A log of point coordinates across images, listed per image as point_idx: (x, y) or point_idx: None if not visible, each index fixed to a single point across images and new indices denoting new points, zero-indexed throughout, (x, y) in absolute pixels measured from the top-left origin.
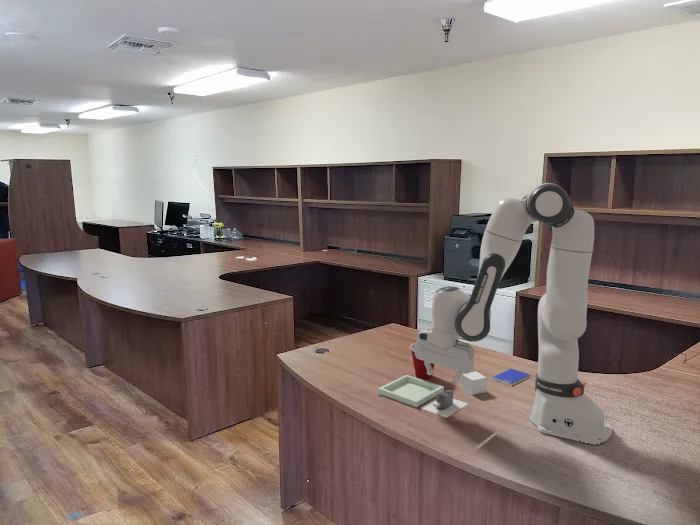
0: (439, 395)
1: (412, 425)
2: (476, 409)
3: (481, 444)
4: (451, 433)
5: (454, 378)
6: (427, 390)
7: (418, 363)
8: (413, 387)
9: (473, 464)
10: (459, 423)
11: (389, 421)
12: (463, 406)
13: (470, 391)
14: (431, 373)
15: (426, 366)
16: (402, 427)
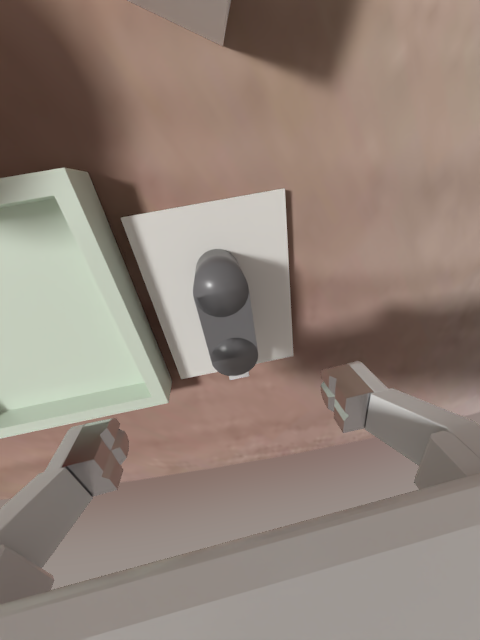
0: (223, 356)
1: (245, 433)
2: (332, 194)
3: (431, 368)
4: None
5: (364, 426)
6: (23, 241)
7: None
8: None
9: None
10: (335, 338)
11: (191, 460)
12: (285, 238)
13: (207, 16)
14: (122, 451)
15: (52, 542)
16: (236, 451)
